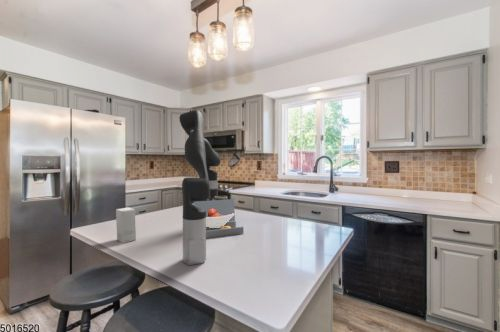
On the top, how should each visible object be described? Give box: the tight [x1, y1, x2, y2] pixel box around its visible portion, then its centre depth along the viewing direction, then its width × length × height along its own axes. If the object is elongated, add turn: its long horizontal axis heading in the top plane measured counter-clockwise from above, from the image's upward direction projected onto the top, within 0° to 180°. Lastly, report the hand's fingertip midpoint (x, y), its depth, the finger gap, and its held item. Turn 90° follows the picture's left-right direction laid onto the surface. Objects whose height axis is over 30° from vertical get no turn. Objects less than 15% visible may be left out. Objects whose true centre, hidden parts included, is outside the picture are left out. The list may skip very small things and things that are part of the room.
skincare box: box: [115, 206, 137, 244], centre depth 117 cm, size 8×7×16 cm
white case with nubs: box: [206, 220, 244, 239], centre depth 131 cm, size 13×24×4 cm, turn 114°
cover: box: [193, 198, 236, 222], centre depth 138 cm, size 13×24×1 cm
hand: (211, 215), depth 145 cm, fingers closed
